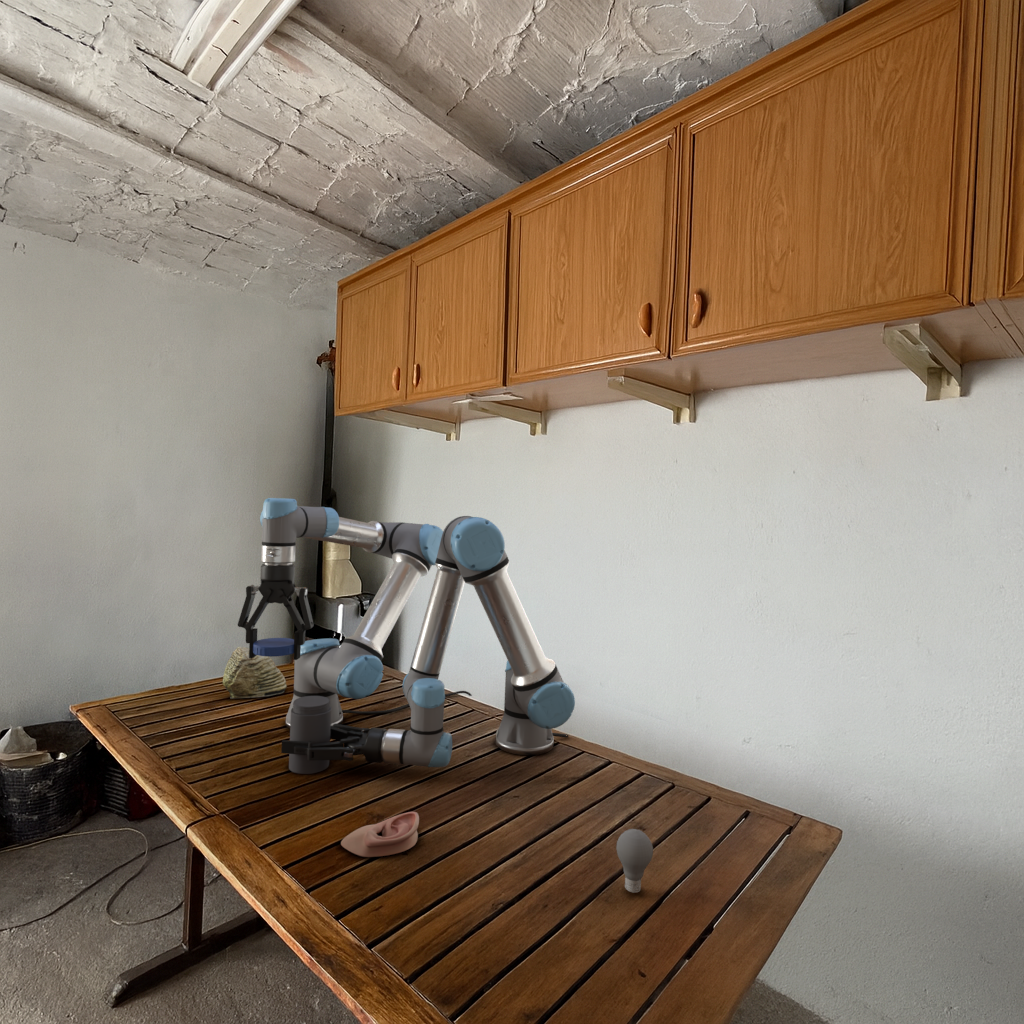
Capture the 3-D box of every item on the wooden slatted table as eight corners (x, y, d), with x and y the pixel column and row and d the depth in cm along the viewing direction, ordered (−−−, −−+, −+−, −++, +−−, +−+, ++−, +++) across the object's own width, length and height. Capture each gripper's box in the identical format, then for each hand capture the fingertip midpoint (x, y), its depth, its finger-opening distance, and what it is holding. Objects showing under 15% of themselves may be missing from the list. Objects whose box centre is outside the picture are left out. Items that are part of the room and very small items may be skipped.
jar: (295, 757, 153) (297, 694, 153) (332, 758, 153) (335, 695, 153) (283, 773, 144) (286, 706, 144) (324, 774, 144) (326, 707, 144)
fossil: (218, 695, 195) (220, 647, 195) (278, 685, 208) (279, 640, 207) (228, 703, 189) (230, 653, 188) (289, 692, 201) (290, 645, 201)
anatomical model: (333, 830, 113) (361, 800, 124) (332, 852, 113) (360, 820, 124) (403, 841, 110) (425, 810, 122) (402, 863, 110) (424, 830, 122)
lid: (252, 647, 152) (252, 638, 152) (295, 645, 156) (295, 636, 156) (253, 657, 143) (254, 648, 143) (299, 655, 147) (299, 645, 147)
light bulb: (610, 879, 108) (613, 822, 108) (644, 879, 109) (647, 822, 109) (619, 902, 102) (622, 840, 102) (655, 901, 103) (658, 840, 103)
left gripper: (223, 563, 145) (220, 660, 146) (321, 567, 146) (317, 663, 146) (236, 560, 153) (233, 652, 153) (329, 563, 153) (326, 655, 154)
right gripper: (370, 782, 136) (269, 774, 138) (396, 743, 158) (309, 737, 160) (371, 747, 136) (270, 740, 138) (397, 714, 158) (310, 707, 160)
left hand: (274, 657), depth 150 cm, fingers closed on lid, 10 cm apart
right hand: (291, 738), depth 149 cm, fingers closed on jar, 9 cm apart
